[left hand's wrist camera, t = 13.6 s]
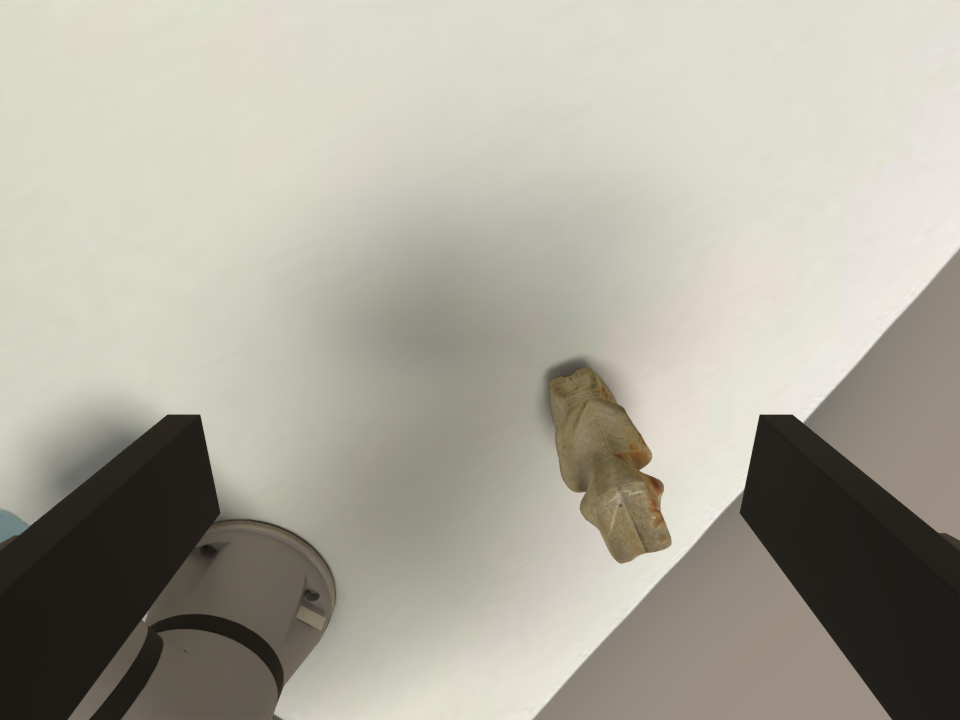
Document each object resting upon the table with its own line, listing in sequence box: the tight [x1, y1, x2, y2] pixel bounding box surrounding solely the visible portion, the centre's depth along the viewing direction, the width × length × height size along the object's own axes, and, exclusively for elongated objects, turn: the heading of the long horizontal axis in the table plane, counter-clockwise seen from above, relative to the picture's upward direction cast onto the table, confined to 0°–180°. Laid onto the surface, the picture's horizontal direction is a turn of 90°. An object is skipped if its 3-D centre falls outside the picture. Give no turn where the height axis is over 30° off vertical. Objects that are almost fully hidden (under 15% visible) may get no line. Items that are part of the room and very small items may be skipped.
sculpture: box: [549, 367, 672, 563], centre depth 35 cm, size 6×7×15 cm
